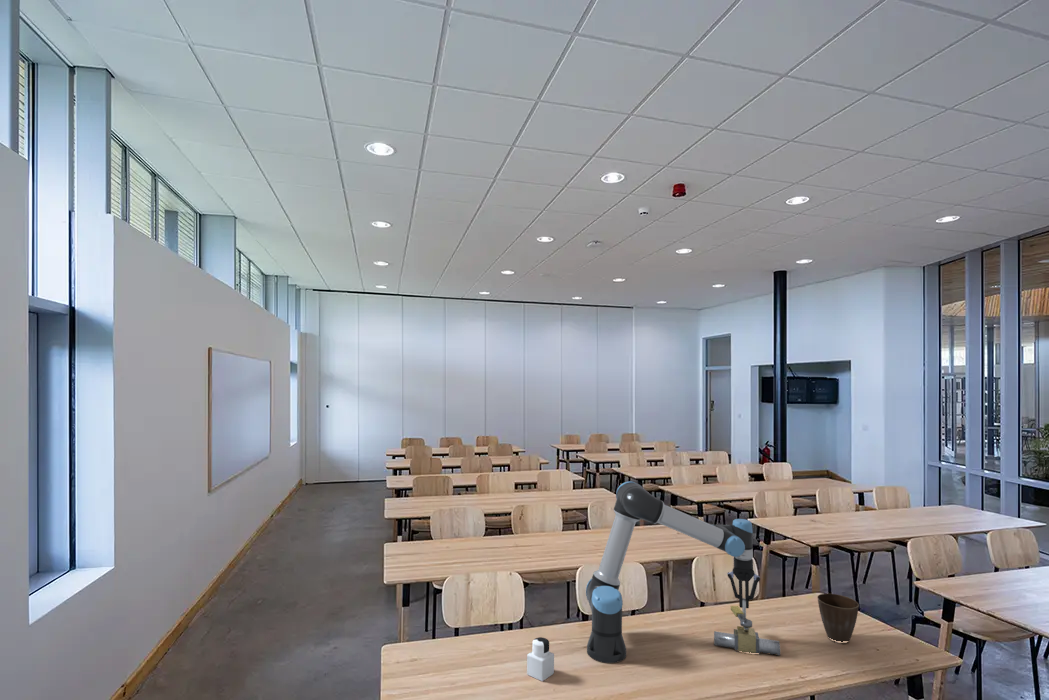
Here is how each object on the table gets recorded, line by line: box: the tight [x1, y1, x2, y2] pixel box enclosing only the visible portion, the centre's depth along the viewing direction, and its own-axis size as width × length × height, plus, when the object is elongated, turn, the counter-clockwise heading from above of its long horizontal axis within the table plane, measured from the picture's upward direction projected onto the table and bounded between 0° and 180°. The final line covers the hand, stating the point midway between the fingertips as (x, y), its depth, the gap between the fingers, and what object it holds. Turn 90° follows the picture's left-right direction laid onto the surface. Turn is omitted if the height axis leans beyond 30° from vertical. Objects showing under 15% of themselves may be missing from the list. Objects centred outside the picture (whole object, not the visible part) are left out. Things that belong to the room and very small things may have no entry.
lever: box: [730, 605, 753, 628], centre depth 222 cm, size 17×4×2 cm, turn 177°
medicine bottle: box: [526, 637, 555, 682], centre depth 195 cm, size 7×7×12 cm
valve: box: [713, 625, 781, 656], centre depth 216 cm, size 24×7×9 cm, turn 72°
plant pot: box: [817, 593, 860, 642], centre depth 226 cm, size 15×15×16 cm
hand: (744, 615), depth 226 cm, fingers closed
